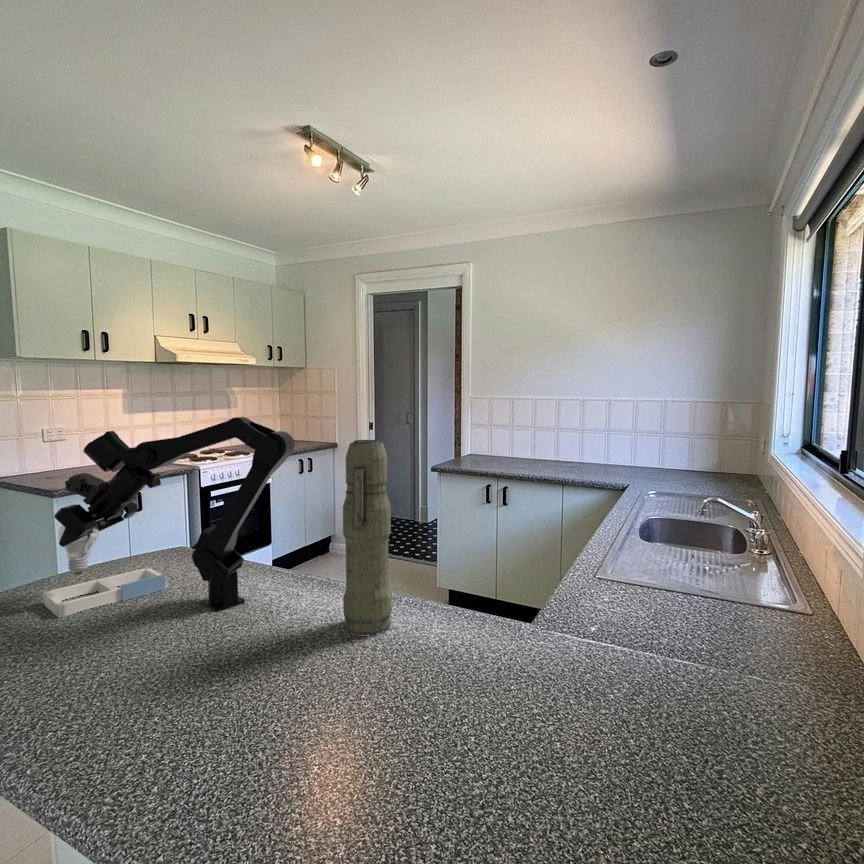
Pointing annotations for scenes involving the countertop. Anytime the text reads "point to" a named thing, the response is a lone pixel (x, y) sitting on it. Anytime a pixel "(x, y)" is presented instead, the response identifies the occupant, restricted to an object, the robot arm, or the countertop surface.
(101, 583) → the white tray
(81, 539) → the light bulb
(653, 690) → the countertop surface
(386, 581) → the thermos
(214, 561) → the robot arm
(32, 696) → the countertop surface
